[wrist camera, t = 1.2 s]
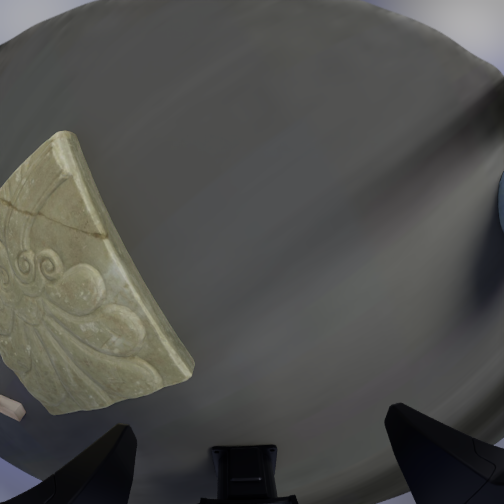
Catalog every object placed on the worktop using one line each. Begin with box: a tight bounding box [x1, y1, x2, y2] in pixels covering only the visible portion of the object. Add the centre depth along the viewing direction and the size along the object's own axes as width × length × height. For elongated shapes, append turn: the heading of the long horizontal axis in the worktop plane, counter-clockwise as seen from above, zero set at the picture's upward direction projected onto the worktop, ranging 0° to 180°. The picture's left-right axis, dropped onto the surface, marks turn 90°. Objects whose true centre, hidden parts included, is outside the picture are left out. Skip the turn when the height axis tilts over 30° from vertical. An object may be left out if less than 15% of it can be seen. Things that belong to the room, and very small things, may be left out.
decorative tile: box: [0, 131, 195, 415], centre depth 17 cm, size 19×20×4 cm
